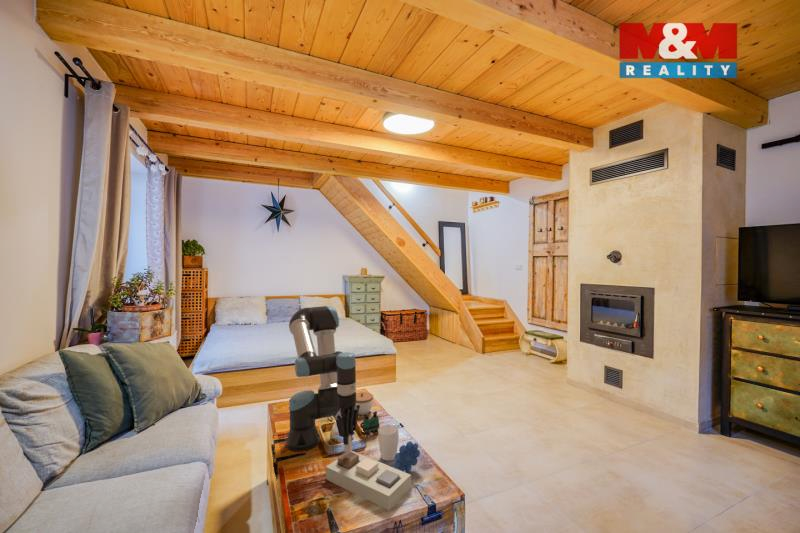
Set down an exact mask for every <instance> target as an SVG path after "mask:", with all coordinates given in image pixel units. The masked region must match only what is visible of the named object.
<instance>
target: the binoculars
mask: <svg viewBox="0 0 800 533" xmlns="http://www.w3.org/2000/svg"><path fill="white" fill-rule="evenodd" d="M377 414H378V412H377V411H373V412H372V416H371V417H369V416H370V415H369V413H367V414H364V415H363V416H364V417H363V420H362V422H361V423H360V425H359V427H360V428H361V430H362V429H363V431H364V432H365V433H364V436H365V435H366V436H367V437H366V438H369V437H368V436H370V437H371V432H373V435H375V436H378V435H377V434H378V429H379V428H380V427H381V426H380V422H379V420H380V419H379V418H380V417H379V415H377Z"/></svg>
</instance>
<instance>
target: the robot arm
mask: <svg viewBox="0 0 800 533" xmlns="http://www.w3.org/2000/svg"><path fill="white" fill-rule="evenodd" d="M288 323H289V325H288V328H289V332H290V333H291V335H292V337H293V340H294V345H295V349H296V353H297V354H296V355H297V358H296V359H295V360H294V371H295V375H296V377H297V378H303V377H312V376H317V375H319V379H320V381H319V382H320V385H319V387H318V389H317V393H315V391H313V390H302V391H299V392H297V393H295V394H293V395H291V397H290V399H289V403H288V404H289V406H288V410H289V431H288V435H287V438H286V441H285V442H286V444H285V445H286V449H288V450H289V451H292V452H305V451H308V450H312V449H313V448H315V447H317V446H318V445H319V444H320V434H319V431H318V428H317V426H316V420H321V419H325V418H330V417H333V418H334V420H335V423H336V427H337V432H338V436H339V437H342V439H343V440H342V442H343V448H344V452H348V453H350V452H351V451H353V446H352V445H353V443H352V442H353V436H354V435H355V431H357V425H358V417H359V415H358V411H359V408H360V405H357V404H356V403H355V402H356V393H357V383H356V382H357V380H356V379H357V378H356V373H357V372H356V355H355V354H354V353H352V352H349V351H347V352H346V351H345V352H343V351H339V350H336V347H335V346H336V344H335V336H334V335H335V333H336V332H337V329H338V328H339V326H340V319H339V314H338V311H337V309H336V307H334V306H333V305H330V306H329V305H328V306H327V305H325V306H324V305H322V306H313V307H303V308H300V309H298V310H297V311H296V312H295V313H293V315H292V316H291V318H290V320H289V322H288ZM310 331H312V332H313V334H314V335H315V337H316V342H317V343H316V344H317V353H316V350H315V346H314V342H313V340H312V336H311V332H310ZM317 354H318V355H317Z"/></svg>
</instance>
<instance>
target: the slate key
mask: <svg viewBox="0 0 800 533" xmlns="http://www.w3.org/2000/svg"><path fill="white" fill-rule="evenodd" d="M399 480H400V477H399V474H396V473H394V472H391V471H389V470H385V471H384V472H383V473H382V474H381V475H379V476H378V477H377V483H379V484H382V485H384V486H386V487H388V488H391V487H392V486H393V485H394V484H395V483H397V482H398V481H399Z"/></svg>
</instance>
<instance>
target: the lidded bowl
mask: <svg viewBox="0 0 800 533" xmlns="http://www.w3.org/2000/svg"><path fill="white" fill-rule="evenodd" d="M355 403H356V404H357V405H360V408H359V411H358V416H365V415H364V414H369V412H370V411H371V410H372V408H373V405H374V394H373V393H371V392H366V391H363V392H362V391H361V392H356V402H355Z"/></svg>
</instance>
